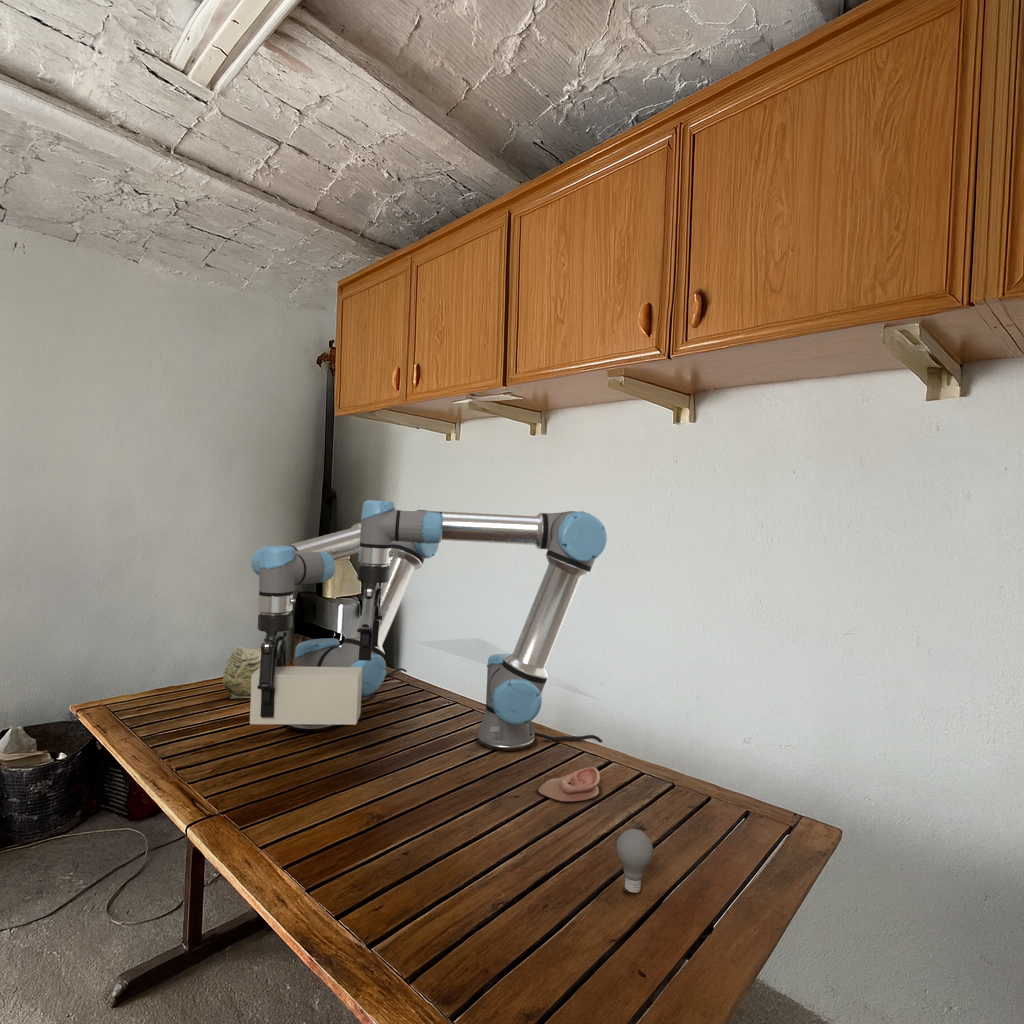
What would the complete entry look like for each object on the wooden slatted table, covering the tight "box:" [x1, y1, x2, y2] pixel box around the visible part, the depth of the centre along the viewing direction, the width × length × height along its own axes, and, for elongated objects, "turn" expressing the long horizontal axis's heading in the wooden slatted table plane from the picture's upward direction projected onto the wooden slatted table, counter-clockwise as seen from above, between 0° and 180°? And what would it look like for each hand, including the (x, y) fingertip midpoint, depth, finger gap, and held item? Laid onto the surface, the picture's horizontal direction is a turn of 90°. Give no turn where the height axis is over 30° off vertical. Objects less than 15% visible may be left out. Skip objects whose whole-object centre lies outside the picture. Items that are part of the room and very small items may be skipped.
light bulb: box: [615, 828, 654, 894], centre depth 106 cm, size 6×6×10 cm
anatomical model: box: [537, 766, 601, 802], centre depth 141 cm, size 13×4×12 cm
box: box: [249, 665, 362, 726], centre depth 148 cm, size 24×8×11 cm, turn 96°
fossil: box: [222, 646, 261, 699], centre depth 198 cm, size 9×18×15 cm, turn 132°
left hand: (272, 710), depth 147 cm, fingers closed on box, 7 cm apart
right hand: (368, 653), depth 152 cm, fingers open, 13 cm apart
